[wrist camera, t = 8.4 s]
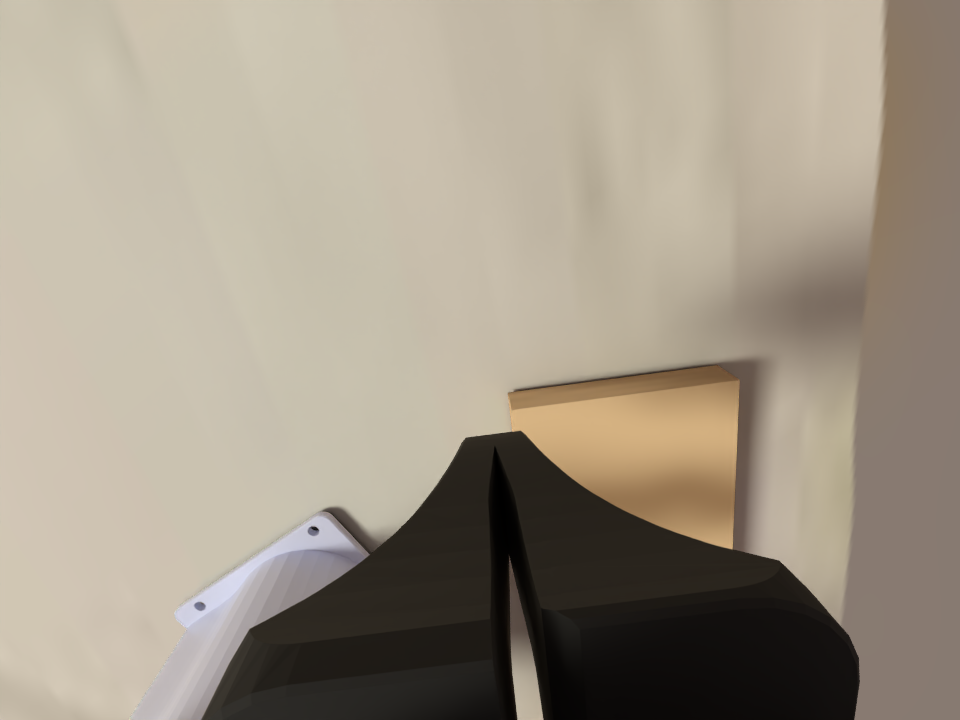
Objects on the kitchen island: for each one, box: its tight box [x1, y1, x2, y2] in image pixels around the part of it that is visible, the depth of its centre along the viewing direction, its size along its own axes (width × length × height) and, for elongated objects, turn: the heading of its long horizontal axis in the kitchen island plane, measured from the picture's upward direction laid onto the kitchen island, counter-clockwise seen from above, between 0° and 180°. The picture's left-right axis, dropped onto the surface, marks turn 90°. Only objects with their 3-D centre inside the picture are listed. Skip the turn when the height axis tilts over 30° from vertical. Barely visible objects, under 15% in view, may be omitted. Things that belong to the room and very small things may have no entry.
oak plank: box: [508, 365, 740, 549], centre depth 22 cm, size 11×9×2 cm
